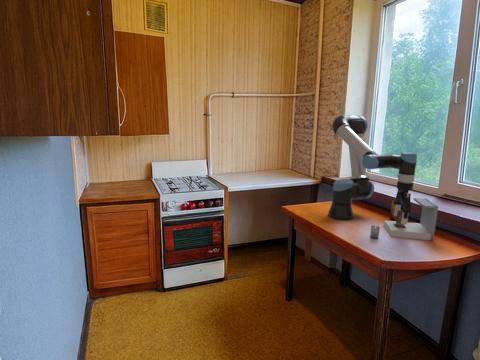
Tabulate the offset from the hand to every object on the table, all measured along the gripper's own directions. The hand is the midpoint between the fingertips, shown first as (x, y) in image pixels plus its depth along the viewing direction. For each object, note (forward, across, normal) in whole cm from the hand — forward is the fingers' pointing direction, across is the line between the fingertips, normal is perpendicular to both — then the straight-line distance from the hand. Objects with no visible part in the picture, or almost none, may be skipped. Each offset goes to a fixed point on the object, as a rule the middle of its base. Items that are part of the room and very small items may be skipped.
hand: (400, 219), depth 162 cm
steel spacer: (+7, +12, -15) cm, 21 cm away
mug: (+7, -19, +6) cm, 21 cm away
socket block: (+7, 0, +4) cm, 8 cm away
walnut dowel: (+7, 0, 0) cm, 7 cm away
